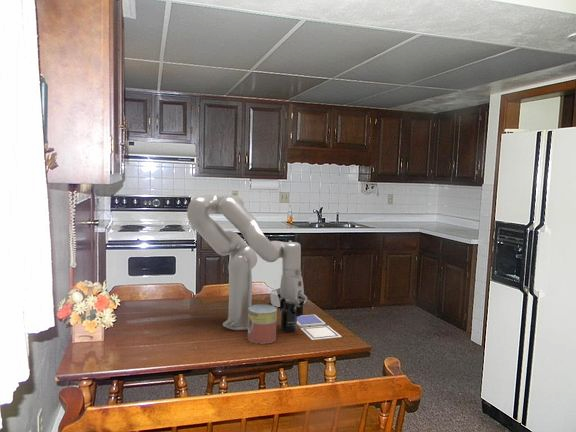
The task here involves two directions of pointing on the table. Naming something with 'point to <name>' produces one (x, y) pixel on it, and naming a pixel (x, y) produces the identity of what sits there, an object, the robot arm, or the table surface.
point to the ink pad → (309, 321)
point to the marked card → (320, 332)
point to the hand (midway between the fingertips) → (291, 312)
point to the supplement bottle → (288, 317)
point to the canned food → (262, 323)
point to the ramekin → (275, 298)
